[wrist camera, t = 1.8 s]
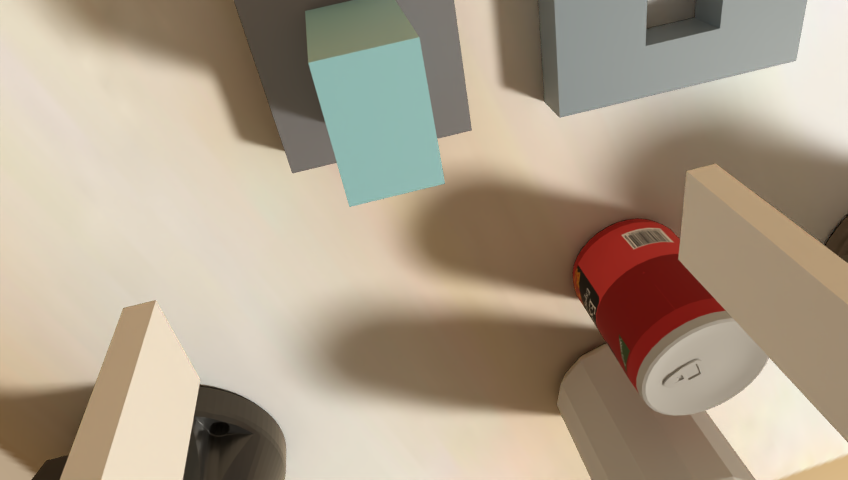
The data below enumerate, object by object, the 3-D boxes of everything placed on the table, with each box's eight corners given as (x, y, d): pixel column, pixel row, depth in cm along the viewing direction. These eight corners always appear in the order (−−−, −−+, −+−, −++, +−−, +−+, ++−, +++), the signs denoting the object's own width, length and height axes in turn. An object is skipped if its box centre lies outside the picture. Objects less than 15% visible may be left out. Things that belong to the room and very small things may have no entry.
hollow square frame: (292, 153, 34) (292, 173, 32) (230, -33, 29) (225, -23, 27) (461, 113, 35) (471, 130, 33) (433, -77, 29) (444, -71, 27)
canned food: (548, 269, 43) (616, 384, 34) (638, 193, 40) (738, 293, 31) (606, 319, 46) (681, 434, 37) (691, 252, 44) (794, 357, 35)
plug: (334, 108, 33) (349, 206, 24) (304, -3, 30) (308, 62, 21) (404, 92, 34) (445, 183, 25) (382, -20, 30) (419, 37, 21)
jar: (544, 355, 47) (658, 587, 32) (662, 317, 47) (830, 533, 33) (558, 430, 53) (661, 658, 38) (664, 397, 53) (807, 611, 38)
